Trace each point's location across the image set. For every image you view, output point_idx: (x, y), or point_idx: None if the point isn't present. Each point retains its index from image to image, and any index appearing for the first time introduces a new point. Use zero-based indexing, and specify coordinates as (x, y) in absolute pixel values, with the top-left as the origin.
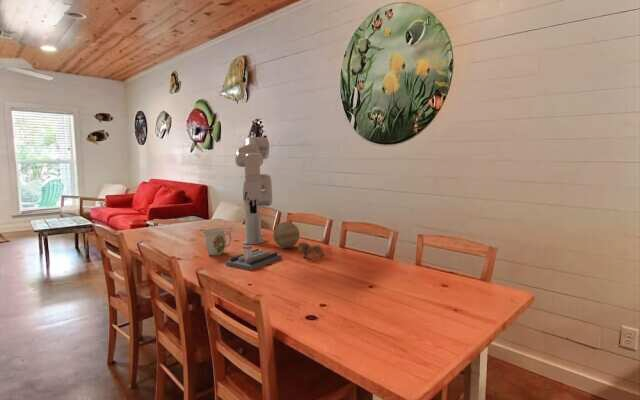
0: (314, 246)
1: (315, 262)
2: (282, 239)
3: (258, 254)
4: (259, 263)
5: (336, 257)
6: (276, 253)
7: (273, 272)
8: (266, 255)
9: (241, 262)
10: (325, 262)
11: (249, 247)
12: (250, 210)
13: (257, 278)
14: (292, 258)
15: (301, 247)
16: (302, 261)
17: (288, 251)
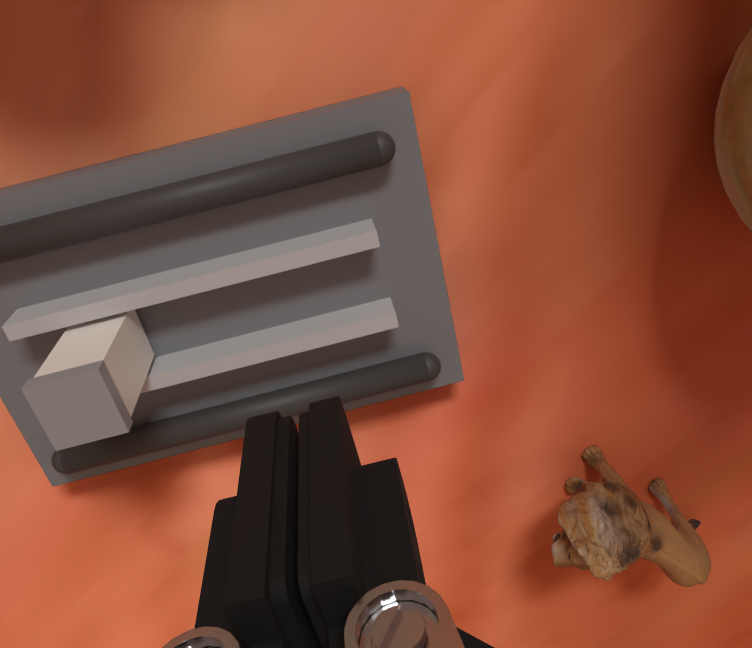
0: (668, 570)
1: (536, 573)
2: (736, 198)
3: (231, 363)
4: (159, 457)
5: (715, 572)
6: (419, 383)
7: (179, 575)
8: (286, 409)
9: (31, 351)
10: (575, 604)
11: (85, 439)
12: (215, 527)
13: (22, 605)
14: (513, 417)
15: (556, 565)
16: (499, 512)
17: (672, 228)
